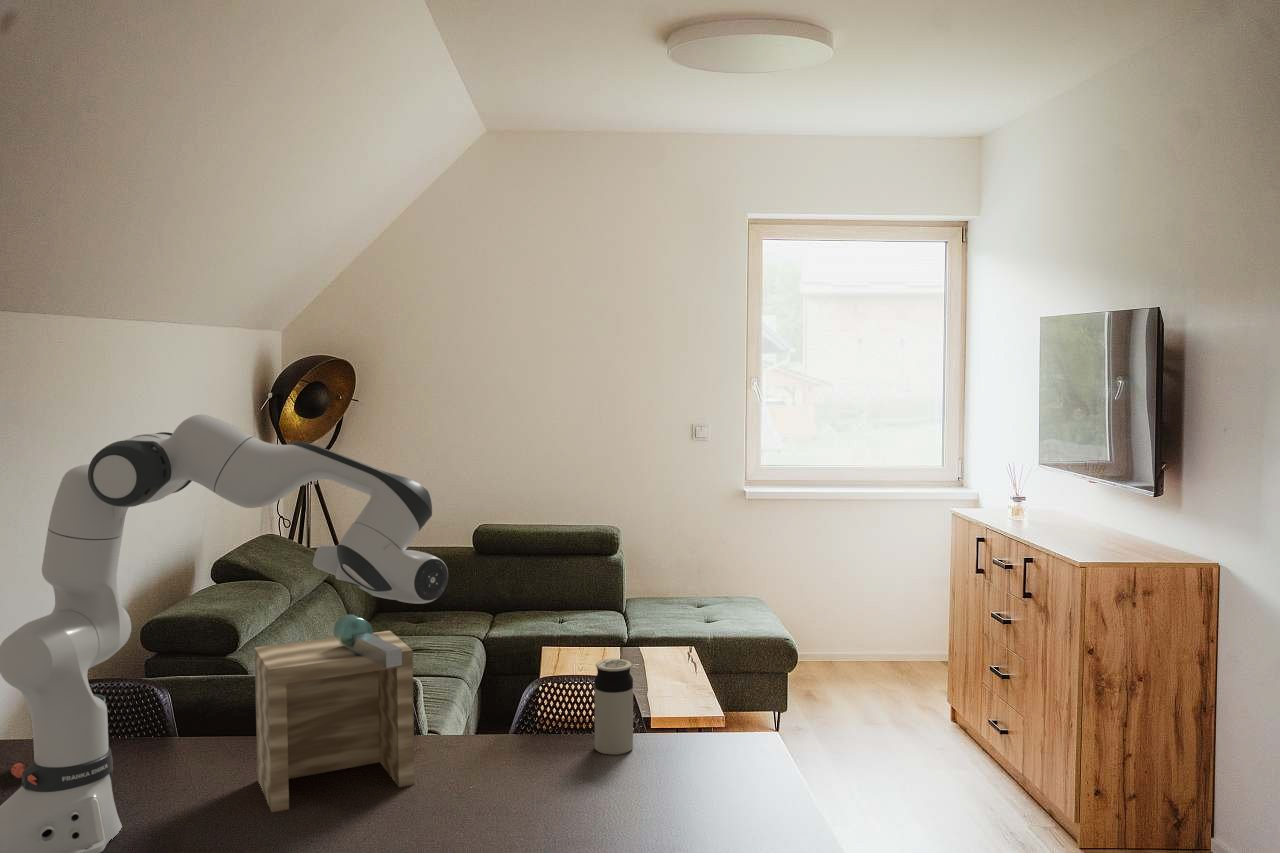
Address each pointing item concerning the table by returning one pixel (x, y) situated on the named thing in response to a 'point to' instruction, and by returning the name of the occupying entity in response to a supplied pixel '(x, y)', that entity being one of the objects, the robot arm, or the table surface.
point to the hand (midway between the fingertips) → (351, 566)
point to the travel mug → (613, 707)
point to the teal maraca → (366, 641)
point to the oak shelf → (330, 713)
